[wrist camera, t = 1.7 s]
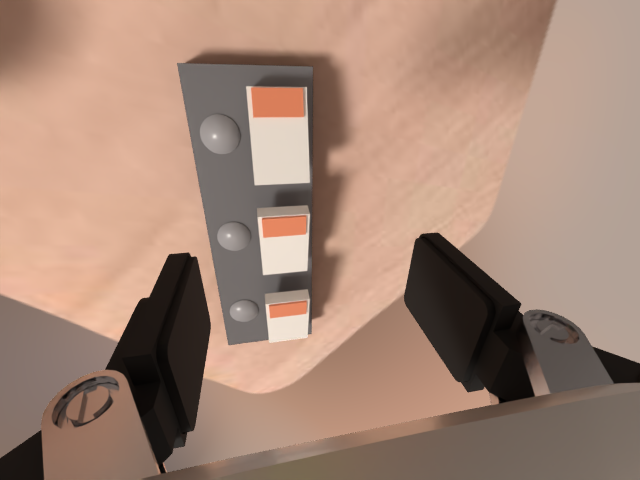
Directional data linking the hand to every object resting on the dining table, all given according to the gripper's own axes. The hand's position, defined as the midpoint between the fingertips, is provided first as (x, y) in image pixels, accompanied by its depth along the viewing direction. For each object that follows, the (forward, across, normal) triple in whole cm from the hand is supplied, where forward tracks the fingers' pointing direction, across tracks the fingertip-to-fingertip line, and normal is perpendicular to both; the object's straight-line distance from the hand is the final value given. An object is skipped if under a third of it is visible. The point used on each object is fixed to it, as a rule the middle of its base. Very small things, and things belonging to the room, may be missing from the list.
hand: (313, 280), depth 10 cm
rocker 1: (+14, 0, -2) cm, 14 cm away
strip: (+18, +2, +6) cm, 19 cm away
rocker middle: (+14, 0, +6) cm, 15 cm away
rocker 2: (+14, 0, +15) cm, 20 cm away
